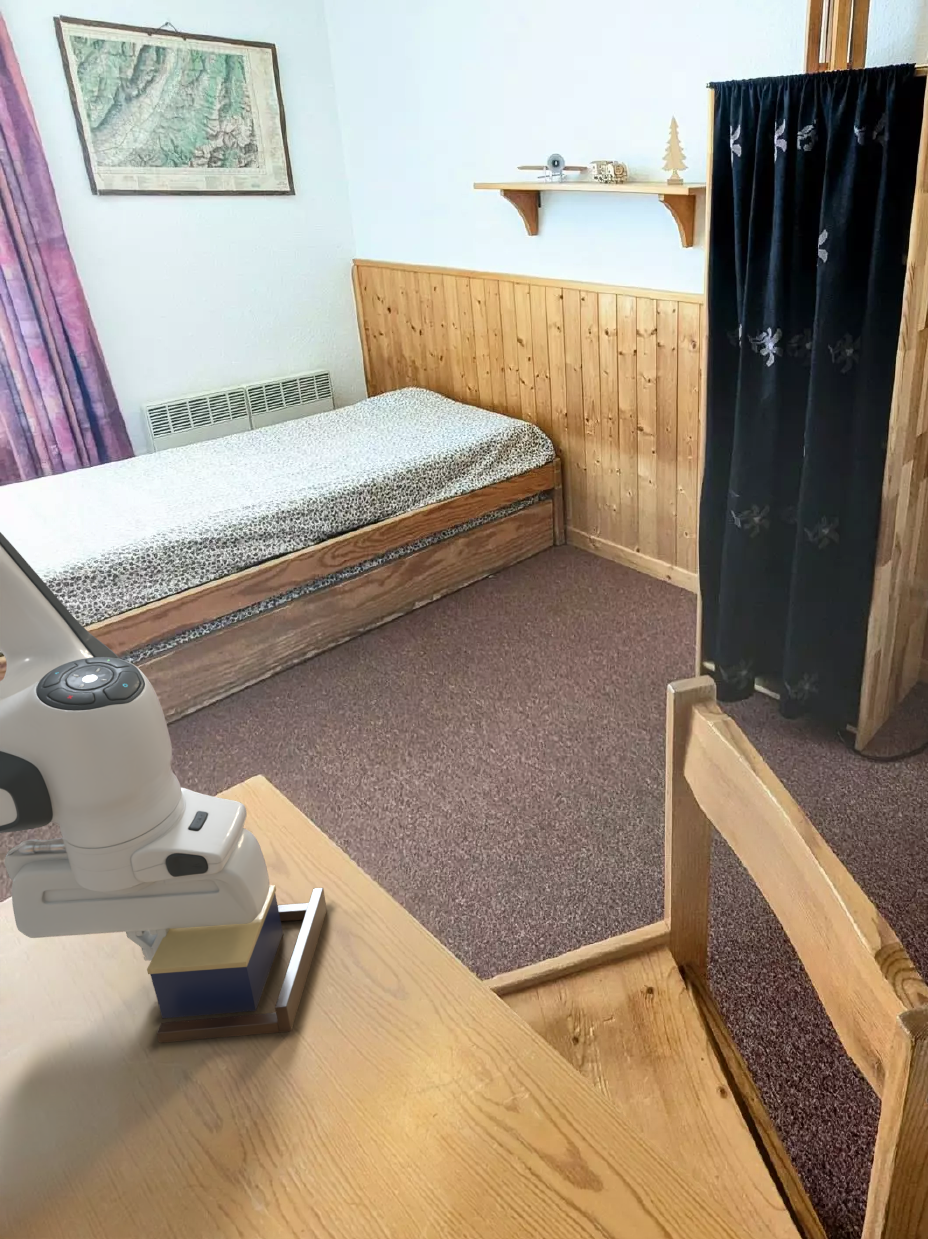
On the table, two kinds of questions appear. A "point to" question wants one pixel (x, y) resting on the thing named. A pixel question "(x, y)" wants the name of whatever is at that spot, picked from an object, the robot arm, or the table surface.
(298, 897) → the table surface
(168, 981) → the toy box
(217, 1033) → the bay
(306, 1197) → the table surface
